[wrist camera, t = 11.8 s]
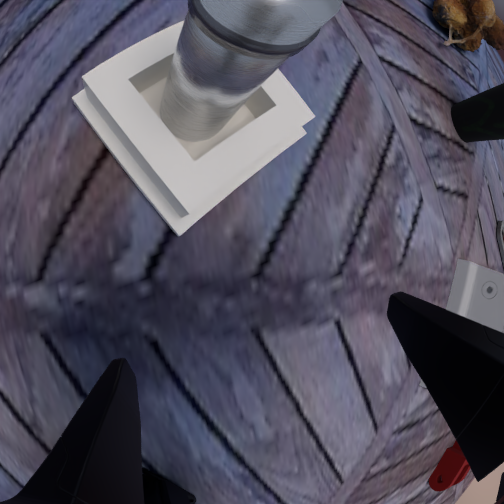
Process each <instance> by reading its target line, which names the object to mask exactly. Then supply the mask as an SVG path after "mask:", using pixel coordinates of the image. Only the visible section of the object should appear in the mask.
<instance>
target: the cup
mask: <svg viewBox="0 0 504 504" xmlns="http://www.w3.org/2000/svg"><path fill="white" fill-rule="evenodd" d="M451 115H452V120H453V124H454V127H455V129H456V131H457V133H458V135H459V136H460V138H461V139H462V140H463V141H465V142H475V141H486V140H499V139H504V83H503V84H501V85H498V86H496V87H493V88H491V89H489V90H486V91H484V92H482V93H479V94H477V95H475V96H472V97H470V98H468V99H466V100H463V101H461V102H459V103H457V104H454V105H453V106H452V109H451Z"/></svg>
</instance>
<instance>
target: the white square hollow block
mask: <svg viewBox="0 0 504 504" xmlns="http://www.w3.org/2000/svg"><path fill="white" fill-rule="evenodd" d="M184 21H185V20H184ZM184 21H182V22H179V23H177V24H175V25H173V26H170V27H168V28H166V29H164V30H162V31H160V32H158V33H156V34H154V35H152V36H150V37H148V38H146V39H144V40H142V41H140V42H138V43H136V44H134V45H133V46H131V47H129V48H127V49H125V50H124V51H122V52H120V53H118V54H117V55H115V56H113V57H112V58H110V59H108V60H107V61H105V62H103V63H102V64H100V65H99V66H97V67H96V68H94V69H93V70H91V71H89V72H88V73H86V74H85V75H83V76H82V80H83V84H84V88H85V89H83V90H82V91H80V92H79V93H78V94H76V95H75V96H74V97H72V99H73V102H74V104H75V106H76V107H77V108H78V110H79V111H80V112H81V114H82V115H83V117H84V118H85V119H86V121H87V122H88V123H89V125H90V126H91V127H92V129H93V130H94V131H95V133H96V134H97V135H98V137H99V138H100V139H101V141H102V142H103V143H104V145H105V146H106V147H107V149H108V150H109V151H110V153H111V154H112V155H113V157H114V158H115V159H116V160H117V162H118V163H119V164H120V166H121V167H122V168H123V169H124V171H125V172H126V173H127V175H128V176H129V177H130V178H131V180H132V181H133V182H134V183H135V185H136V186H137V187H138V189H139V190H140V191H141V192H142V194H143V195H144V196H145V197H146V199H147V200H148V201H149V202H150V204H151V205H152V206H153V207H154V208H155V210H156V211H157V212H158V213H159V215H160V216H161V217H162V218H163V219H164V221H165V222H166V223H167V224H168V226H169V227H170V228H171V229H172V230H173V232H174V233H175V234H176V235H177V236H181V235H182V234H183V233H184V232H185V231H186V230H187V229H189V228H190V227H191V226H192V225H193V224H194V223H196V222H197V221H198V220H199V219H200V218H201V217H203V216H204V215H205V214H206V213H207V212H208V211H210V210H211V209H212V208H213V207H214V206H216V205H217V204H218V203H219V202H220V201H222V200H223V199H224V198H225V197H226V196H228V195H229V194H230V193H231V192H233V191H234V190H235V189H236V188H237V187H239V186H240V185H241V184H242V183H244V182H245V181H246V180H247V179H249V178H250V177H251V176H252V175H254V174H255V173H256V172H257V171H259V170H260V169H261V168H262V167H264V166H265V165H266V164H267V163H269V162H270V161H271V160H273V159H274V158H275V157H276V156H278V155H279V154H280V153H282V152H283V151H284V150H285V149H287V148H288V147H289V146H291V145H292V144H293V143H295V142H296V141H297V140H299V139H300V138H301V137H303V136H304V135H305V134H307V133H306V132H305V130H304V129H303V128H302V126H303V125H304V124H306V123H307V122H308V121H310V120H311V119H313V118H314V117H315V115H314V114H313V113H312V111H311V110H310V109H309V107H308V106H307V105H306V103H305V102H304V101H303V99H302V98H301V97H300V95H299V94H298V93H297V92H296V90H295V89H294V88H293V87H292V85H291V84H290V83H289V82H288V80H287V79H286V78H285V77H284V75H283V74H282V73H281V72H280V71H279V69H277V70H276V71H275V72H274V73H273V74H272V75H271V76H270V77H269V78H268V79H267V80H266V81H265V82H264V83H263V84H262V85H261V86H260V87H259V88H258V90H257V91H256V92H255V93H254V94H253V95H252V96H251V97H250V98H249V99H248V100H247V101H246V103H245V104H244V105H243V106H242V107H241V108H240V109H239V110H238V111H237V112H236V114H235V115H234V116H233V117H232V118H231V119H230V120H229V122H228V123H227V124H226V125H225V126H224V127H223V128H222V130H221V131H220V132H219V133H218V134H217V135H215V136H214V137H212V138H210V139H208V140H205V141H200V142H190V141H185V140H182V139H179V138H177V137H175V136H174V135H173V134H172V133H171V132H170V130H169V129H168V128H167V127H166V125H165V124H164V123H163V122H162V120H161V117H160V104H161V100H162V95H163V92H164V88H165V84H166V80H167V76H168V73H169V69H170V66H171V62H172V59H173V55H174V52H175V49H176V45H177V42H178V39H179V36H180V33H181V30H182V27H183V24H184Z"/></svg>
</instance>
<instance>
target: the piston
mask: <svg viewBox="0 0 504 504" xmlns="http://www.w3.org/2000/svg"><path fill="white" fill-rule="evenodd" d="M341 4H342V0H188V8H189V9H188V12H187V15H186V18H185V21H184V24H183V27H182V30H181V33H180V36H179V39H178V42H177V45H176V49H175V52H174V55H173V59H172V62H171V66H170V69H169V73H168V76H167V80H166V84H165V88H164V92H163V95H162V100H161V104H160V117H161V120H162V122H163V123H164V124H165V125H166V127H167V128H168V129H169V130H170V132H171V133H172V134H173V135H174V136H175V137H177V138H179V139H182V140H185V141H190V142H200V141H205V140H208V139H210V138H212V137H214V136H215V135H217V134H218V133H219V132H220V131H221V130H222V128H223V127H224V126H225V125H226V124H227V123H228V122H229V120H230V119H231V118H232V117H233V116H234V115H235V114H236V112H237V111H238V110H239V109H240V108H241V107H242V106H243V105H244V104H245V103H246V101H247V100H248V99H249V98H250V97H251V96H252V95H253V94H254V93H255V92H256V91H257V90H258V88H259V87H260V86H261V85H262V84H263V83H264V82H265V81H266V80H267V79H268V78H269V77H270V76H271V75H272V74H273V73H274V72H275V71H276V70H277V69H278V68H279V67H280V66H281V65H282V64H283V63H284V62H285V61H286V60H287V59H288V58H289V57H291V56H293V55H295V54H297V53H299V52H300V51H301V50H303V49H304V48H305V47H306V46H307V45H308V44H309V43H310V42H311V41H313V40H314V39H315V37H316V36H317V35H318V33H319V31H320V28H321V27H322V26H323V25H324V24H325V23H326V22H327V21H328V20H330V19H331V18H332V17H333V16H334V15H335V14H336V13H337V12H338V11H339V10H340V8H341Z"/></svg>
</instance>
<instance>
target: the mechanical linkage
mask: <svg viewBox="0 0 504 504" xmlns="http://www.w3.org/2000/svg"><path fill="white" fill-rule="evenodd" d="M469 470H470V466H469V464H468V462H467V460H466V458H465V456H464V454H463V452H462V450H461V448H460V446H459V445H458V443H457V441H455V443H454V445H453V447H450V448H447V450H446V451H445V453H444V455H443V457H442V458H441V460H440V462H439V463H438V465H437V467H436V468H435V470H434V471H433V473H432V475H431V476H430V478H429V485H430V487H431V488H432V489H433V490H435V491H443V490H445V489H447V488H449V487H451V486H453V485H455V484H457V483H459V482H461V481H462V480H463V479H464V478H465V476H466V475H467V473H468V471H469ZM441 478H442V481H441Z"/></svg>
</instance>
